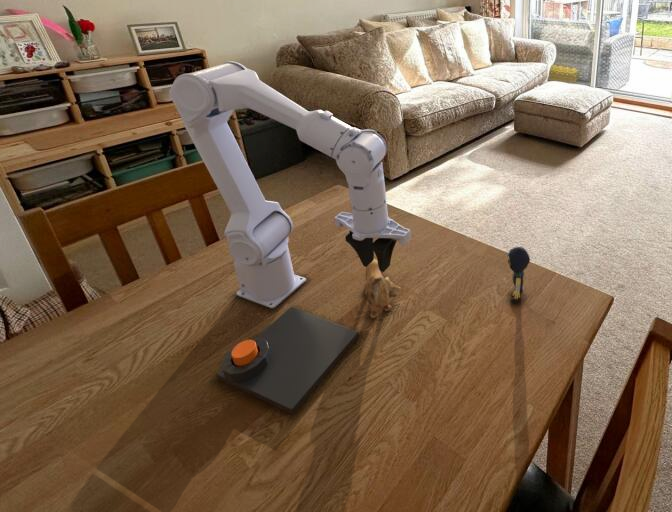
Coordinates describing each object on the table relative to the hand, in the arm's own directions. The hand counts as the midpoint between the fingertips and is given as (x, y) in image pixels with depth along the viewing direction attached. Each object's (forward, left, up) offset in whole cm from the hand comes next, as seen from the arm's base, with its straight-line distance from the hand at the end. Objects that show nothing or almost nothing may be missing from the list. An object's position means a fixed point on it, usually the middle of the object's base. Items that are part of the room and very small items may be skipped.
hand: (376, 265), depth 74 cm
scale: (-6, -15, -8) cm, 18 cm away
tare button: (-10, -19, -6) cm, 22 cm away
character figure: (+24, +10, -9) cm, 27 cm away
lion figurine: (0, 0, -9) cm, 9 cm away
